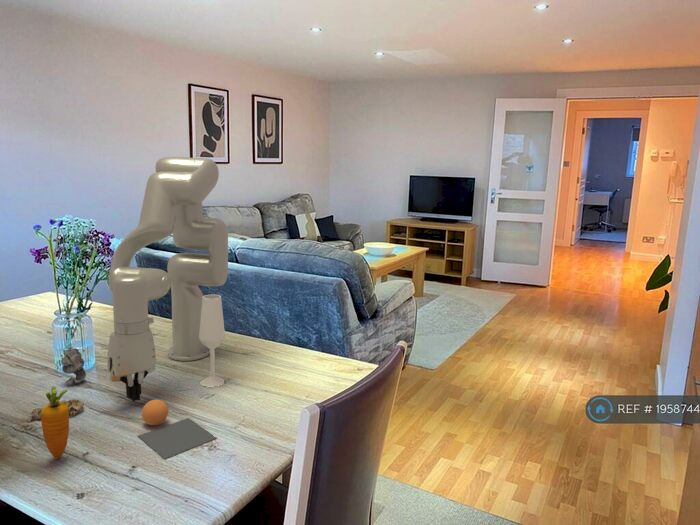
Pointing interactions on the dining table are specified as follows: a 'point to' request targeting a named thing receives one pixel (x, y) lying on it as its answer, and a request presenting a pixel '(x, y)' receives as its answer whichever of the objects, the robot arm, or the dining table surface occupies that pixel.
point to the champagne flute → (212, 332)
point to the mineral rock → (73, 405)
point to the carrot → (55, 423)
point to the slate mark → (176, 438)
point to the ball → (155, 412)
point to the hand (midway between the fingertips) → (134, 398)
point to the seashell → (73, 365)
